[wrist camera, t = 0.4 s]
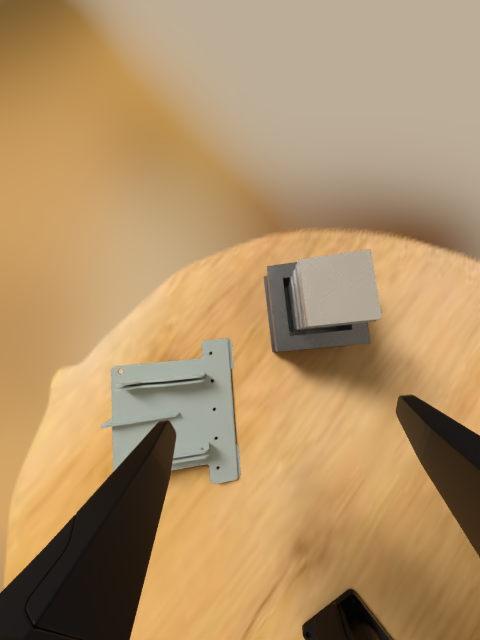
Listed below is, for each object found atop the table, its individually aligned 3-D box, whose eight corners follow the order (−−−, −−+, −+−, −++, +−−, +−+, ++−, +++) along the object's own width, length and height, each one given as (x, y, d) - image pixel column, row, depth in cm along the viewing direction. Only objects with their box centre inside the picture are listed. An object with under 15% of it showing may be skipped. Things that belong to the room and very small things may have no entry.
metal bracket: (95, 519, 18) (92, 348, 20) (121, 477, 24) (117, 346, 25) (253, 487, 21) (241, 337, 22) (243, 456, 27) (234, 337, 28)
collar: (350, 343, 22) (377, 346, 17) (272, 351, 23) (273, 355, 18) (339, 270, 23) (362, 249, 17) (264, 280, 24) (263, 263, 18)
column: (333, 327, 20) (385, 321, 12) (289, 332, 21) (305, 329, 12) (327, 284, 21) (373, 246, 12) (283, 290, 21) (296, 257, 12)
